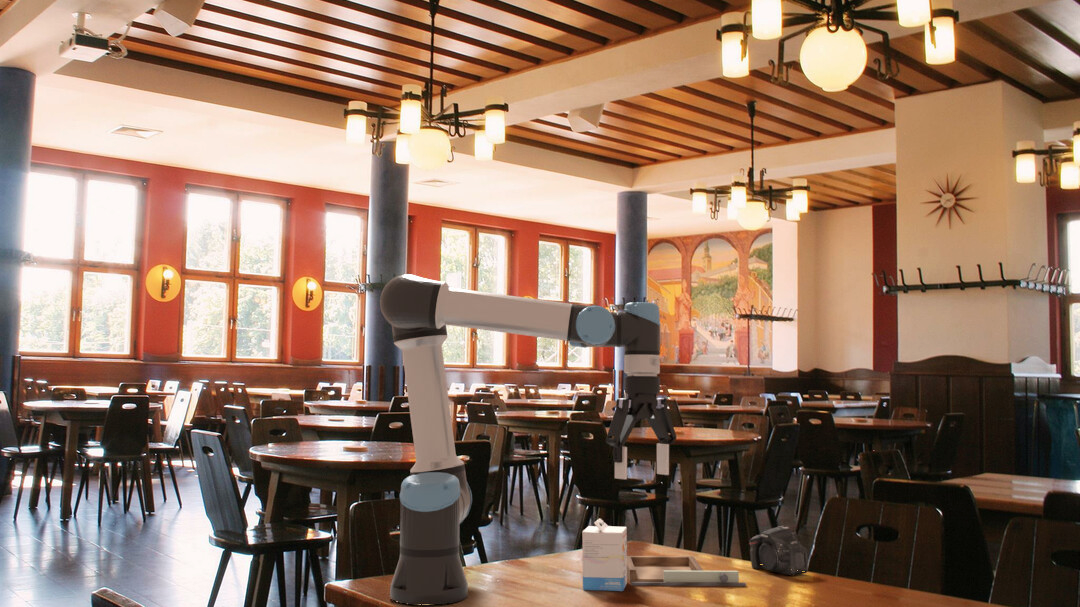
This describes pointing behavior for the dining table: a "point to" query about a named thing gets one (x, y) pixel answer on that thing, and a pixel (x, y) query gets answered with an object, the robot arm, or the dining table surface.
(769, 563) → the camera
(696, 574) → the cream rectangular bar
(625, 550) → the ink box
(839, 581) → the dining table surface
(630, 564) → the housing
